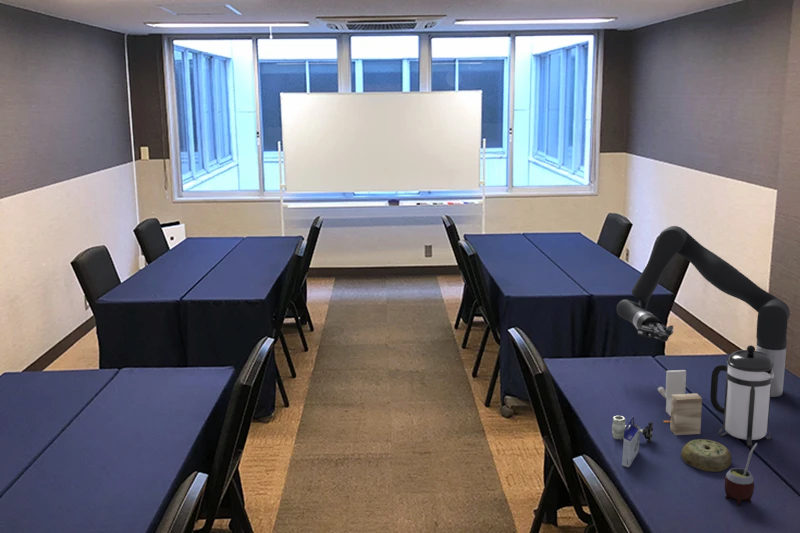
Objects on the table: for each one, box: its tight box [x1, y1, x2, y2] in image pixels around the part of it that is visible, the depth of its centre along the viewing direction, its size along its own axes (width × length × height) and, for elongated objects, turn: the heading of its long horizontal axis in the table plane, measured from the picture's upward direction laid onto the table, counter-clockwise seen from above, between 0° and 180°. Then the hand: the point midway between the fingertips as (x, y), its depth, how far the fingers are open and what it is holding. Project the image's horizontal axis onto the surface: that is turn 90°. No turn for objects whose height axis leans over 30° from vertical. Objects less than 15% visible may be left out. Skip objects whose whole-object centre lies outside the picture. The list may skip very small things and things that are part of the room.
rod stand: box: [657, 386, 703, 436], centre depth 239 cm, size 23×8×12 cm, turn 2°
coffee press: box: [709, 345, 774, 448], centre depth 224 cm, size 17×16×30 cm
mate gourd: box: [724, 442, 758, 507], centre depth 191 cm, size 8×8×15 cm
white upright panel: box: [665, 369, 687, 417], centre depth 236 cm, size 4×6×14 cm, turn 92°
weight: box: [680, 438, 733, 473], centre depth 213 cm, size 14×13×5 cm
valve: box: [611, 415, 654, 444], centre depth 228 cm, size 7×7×12 cm
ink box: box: [621, 415, 641, 468], centre depth 215 cm, size 12×2×12 cm, turn 148°
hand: (665, 338), depth 244 cm, fingers closed
